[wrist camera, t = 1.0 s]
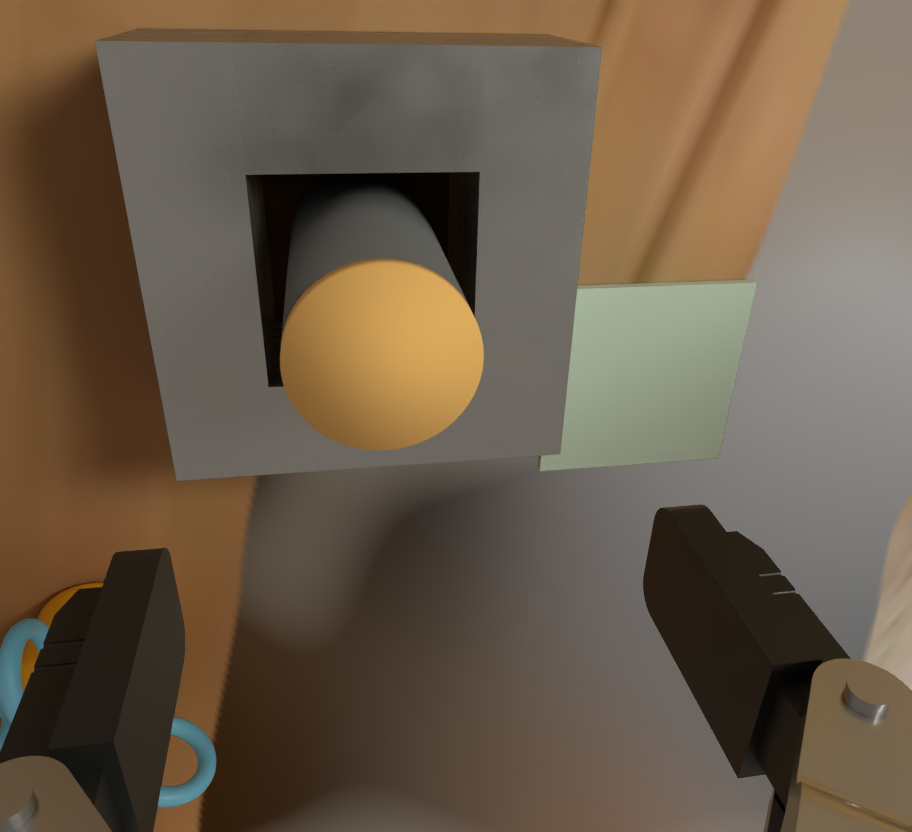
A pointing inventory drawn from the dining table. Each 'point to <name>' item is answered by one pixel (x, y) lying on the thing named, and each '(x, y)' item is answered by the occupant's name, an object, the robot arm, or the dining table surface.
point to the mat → (651, 372)
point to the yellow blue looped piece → (11, 666)
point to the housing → (337, 152)
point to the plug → (374, 317)
